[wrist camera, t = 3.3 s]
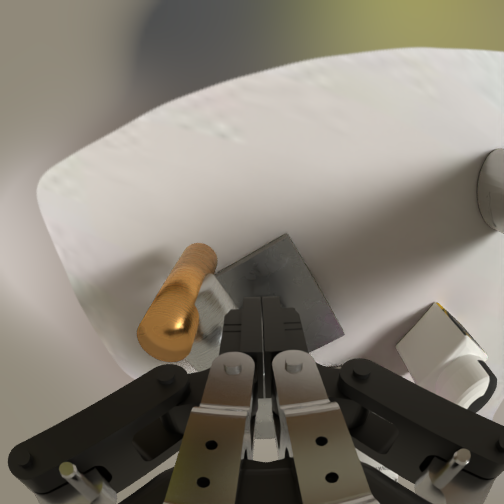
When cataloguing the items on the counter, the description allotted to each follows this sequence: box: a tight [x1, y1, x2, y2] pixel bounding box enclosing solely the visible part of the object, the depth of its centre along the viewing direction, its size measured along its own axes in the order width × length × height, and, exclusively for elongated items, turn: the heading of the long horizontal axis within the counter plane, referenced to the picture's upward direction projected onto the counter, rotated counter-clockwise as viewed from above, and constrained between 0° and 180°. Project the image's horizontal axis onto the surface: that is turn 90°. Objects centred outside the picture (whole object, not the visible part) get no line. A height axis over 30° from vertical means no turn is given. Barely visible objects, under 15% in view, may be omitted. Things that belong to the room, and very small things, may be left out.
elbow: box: [137, 243, 275, 439], centre depth 18 cm, size 14×6×9 cm, turn 32°
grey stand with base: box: [214, 233, 345, 353], centre depth 25 cm, size 12×12×8 cm
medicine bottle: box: [396, 302, 497, 413], centre depth 24 cm, size 7×7×12 cm
